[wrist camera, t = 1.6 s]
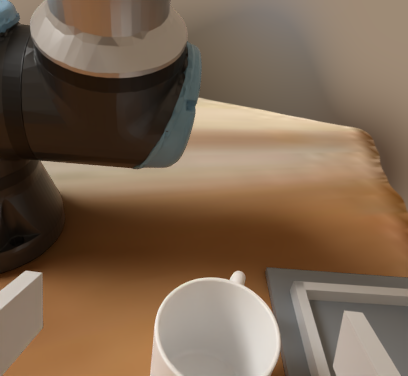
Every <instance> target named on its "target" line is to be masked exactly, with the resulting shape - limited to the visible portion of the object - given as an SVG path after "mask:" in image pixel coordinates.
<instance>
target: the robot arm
mask: <svg viewBox="0 0 408 376" xmlns="http://www.w3.org/2000/svg"><path fill="white" fill-rule="evenodd" d="M170 1H171V0H44V1H43V2H42V3H41V4H40V5H39V7H38V8H37V9H36V10H35V11H34V13H33V15H32V17H31V21H30V25H22V24H20V23H19V22H18V21H19V19H20V16H19V13H17V11H16V9H15V7H14V5H13V4H12V3H11V2H9V1H8V0H0V273H2V272H6V271H9V270H12V269H14V268H17V267H19V266H22V265H24V264H26V263H28V262H30V261H31V260H33V259H35V258H36V257H38V256H39V255H41V254H42V253H44V252H45V251H46V250H47V249H48V248H49V247H50V246H51V245H52V244H53V243H54V242H55V241H56V240H57V238H58V237H59V235H60V233H61V231H62V229H63V226H64V221H65V214H64V207H63V200H62V197H61V195H60V193H59V191H58V189H57V188H56V186H55V184H54V183H53V181H52V179H51V177H50V176H49V174H48V173H47V171H46V169H45V168H44V166H43V164H42V163H41V161H53V162H65V163H77V164H89V165H101V166H113V167H125V168H133V169H141V168H164V167H169V166H171V165H173V164H175V163H176V162H177V161H178V160H179V159H180V157H181V156H182V154H183V152H184V150H185V148H186V146H187V143H188V140H189V137H190V134H191V130H192V127H193V122H194V118H195V106H196V104H197V100H198V95H199V91H200V82H201V68H202V66H201V54H200V51H199V49H198V47H196V46H195V45H193V44H190V43H189V42H188V41H187V28H186V25H185V23H184V21H183V19H182V18H181V16H180V15H179V14H178V13H177V12H176V11H175V10H174V9H173V7H172V6H171V5H170ZM42 328H43V282H42V273H41V272H33V271H24V272H23V273H22V274H21V275H20V276H18V277H17V278H16V279H15V280H13V281H12V282H11V283H10V284H8V285H7V286H6V287H5V288H3V289H2V290H1V291H0V376H2V375H3V374H4V373H5V372H6V370H7V369H8V368H9V367H10V366H11V365H12V363H13V362H14V361H15V360H16V359H17V358H18V356H19V355H20V354H21V353H22V352H23V351H24V349H25V348H26V347H27V346H28V345H29V343H30V342H31V341H32V340H33V339H34V338H35V336H36V335H37V334H38V333H39V332H40V331H41V329H42ZM333 368H334V371H335V374H336V376H401V375H400V373H399V372H398V370H397V368H396V367H395V365H394V363H393V362H392V360H391V358H390V357H389V355H388V354H387V352H386V350H385V349H384V347H383V345H382V344H381V342H380V340H379V339H378V337H377V335H376V334H375V332H374V331H373V329H372V327H371V326H370V324H369V322H368V321H367V319H366V317H365V316H364V314H363V313H361V312H353V311H345V310H344V313H343V318H342V323H341V328H340V333H339V338H338V343H337V348H336V353H335V358H334V363H333Z"/></svg>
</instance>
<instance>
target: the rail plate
mask: <svg viewBox="0 0 408 376" xmlns="http://www.w3.org/2000/svg"><path fill="white" fill-rule="evenodd" d="M265 274H266V279H267V284H268V289H269V294H270V299H271V304H272V310H273V315H274V317H275V319H276V321H277V324H278V327H279V331H280V338H281V348H280V351H281V356H282V361H283V366H284V371H285V376H336V374H335V371H334V368H333V363H334V358H335V353H336V348H337V343H338V338H339V333H340V328H341V323H342V318H343V313H344V310H345V311H353V312H361V313H363V314H364V316H365V317H366V319H367V321H368V322H369V324H370V326H371V327H372V329H373V331H374V332H375V334H376V335H377V337H378V339H379V340H380V342H381V344H382V345H383V347H384V349H385V350H386V352H387V354H388V355H389V357H390V358H391V360H392V362H393V363H394V365H395V367H396V368H397V370H398V372H399V373H400V375H401V376H408V278H406V277H392V276H378V275H364V274H351V273H337V272H323V271H310V270H296V269H282V268H268V267H267V268H266V271H265Z"/></svg>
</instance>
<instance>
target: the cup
mask: <svg viewBox="0 0 408 376" xmlns="http://www.w3.org/2000/svg"><path fill="white" fill-rule="evenodd" d="M245 278H246V277H245V274H244V273H243V272H241V271H235V272H234V273H233V274H232V276H231V278H230V280H227V279H223V278H212V277H208V278H199V279H195V280H191V281H188V282H186V283H184V284H182V285H180V286H179V287H177V288H176V289H174V290H173V291H172V292H171V293H170V294H169V295H168V296H167V297H166V298H165V299H164V301H163V302H162V304H161V306H160V308H159V310H158V313H157V316H156V320H155V328H154V339H153V350H152V361H151V372H150V376H271V374H272V372H273V370H274V367H275V365H276V363H277V361H278V358H279V354H280V348H281V338H280V331H279V327H278V324H277V321H276V319H275V317H274V315H273V313H272V311H271V310H270V308H269V307H268V305H267V304H266V303H265V302H264V301H263V300H262V299H261V298H260V297H259V296H258V295H257V294H256V293H255V292H253V291H252V290H250V289H249V288H247V287H245V286H244V283H245Z"/></svg>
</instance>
